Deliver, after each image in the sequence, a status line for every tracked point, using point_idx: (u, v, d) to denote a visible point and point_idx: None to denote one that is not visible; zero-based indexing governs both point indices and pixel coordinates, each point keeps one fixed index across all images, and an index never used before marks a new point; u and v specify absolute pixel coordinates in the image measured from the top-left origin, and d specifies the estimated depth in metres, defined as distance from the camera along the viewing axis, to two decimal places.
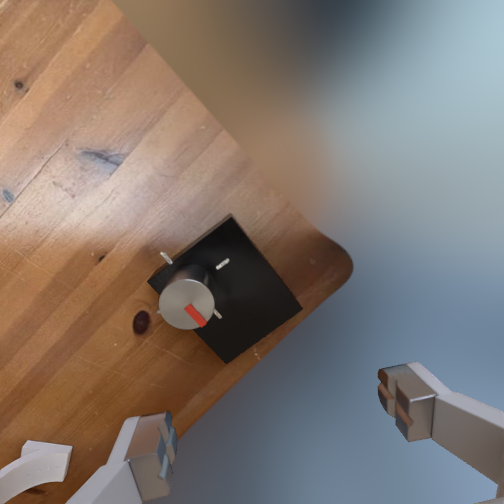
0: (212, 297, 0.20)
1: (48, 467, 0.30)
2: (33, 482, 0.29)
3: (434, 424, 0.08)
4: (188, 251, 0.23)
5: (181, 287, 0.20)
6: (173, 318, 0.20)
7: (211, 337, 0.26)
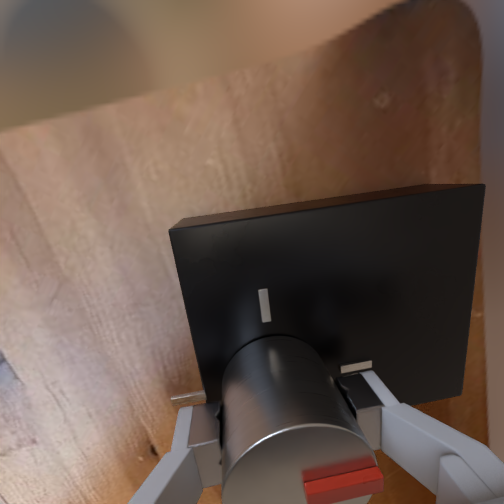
0: (325, 427, 0.06)
1: None
2: None
3: (382, 435, 0.08)
4: (199, 354, 0.10)
5: (247, 483, 0.07)
6: None
7: None
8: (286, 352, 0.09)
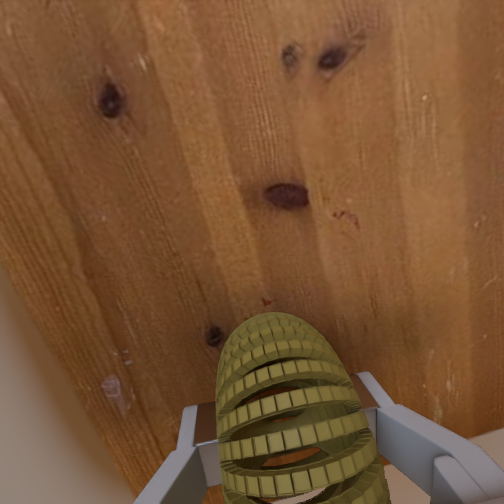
0: None
1: None
2: None
3: (377, 436, 0.08)
4: None
5: None
6: None
7: None
8: None
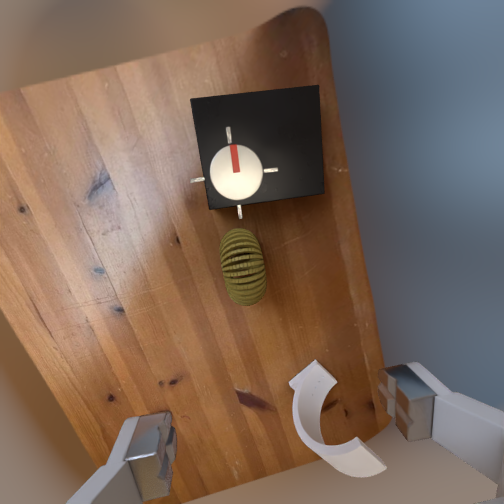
0: (211, 166, 0.21)
1: (318, 381, 0.35)
2: (321, 397, 0.35)
3: (434, 424, 0.08)
4: (201, 158, 0.24)
5: (231, 191, 0.21)
6: (255, 168, 0.21)
7: (290, 190, 0.26)
8: None
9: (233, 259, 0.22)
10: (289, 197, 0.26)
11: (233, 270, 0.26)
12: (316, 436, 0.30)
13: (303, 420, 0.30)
